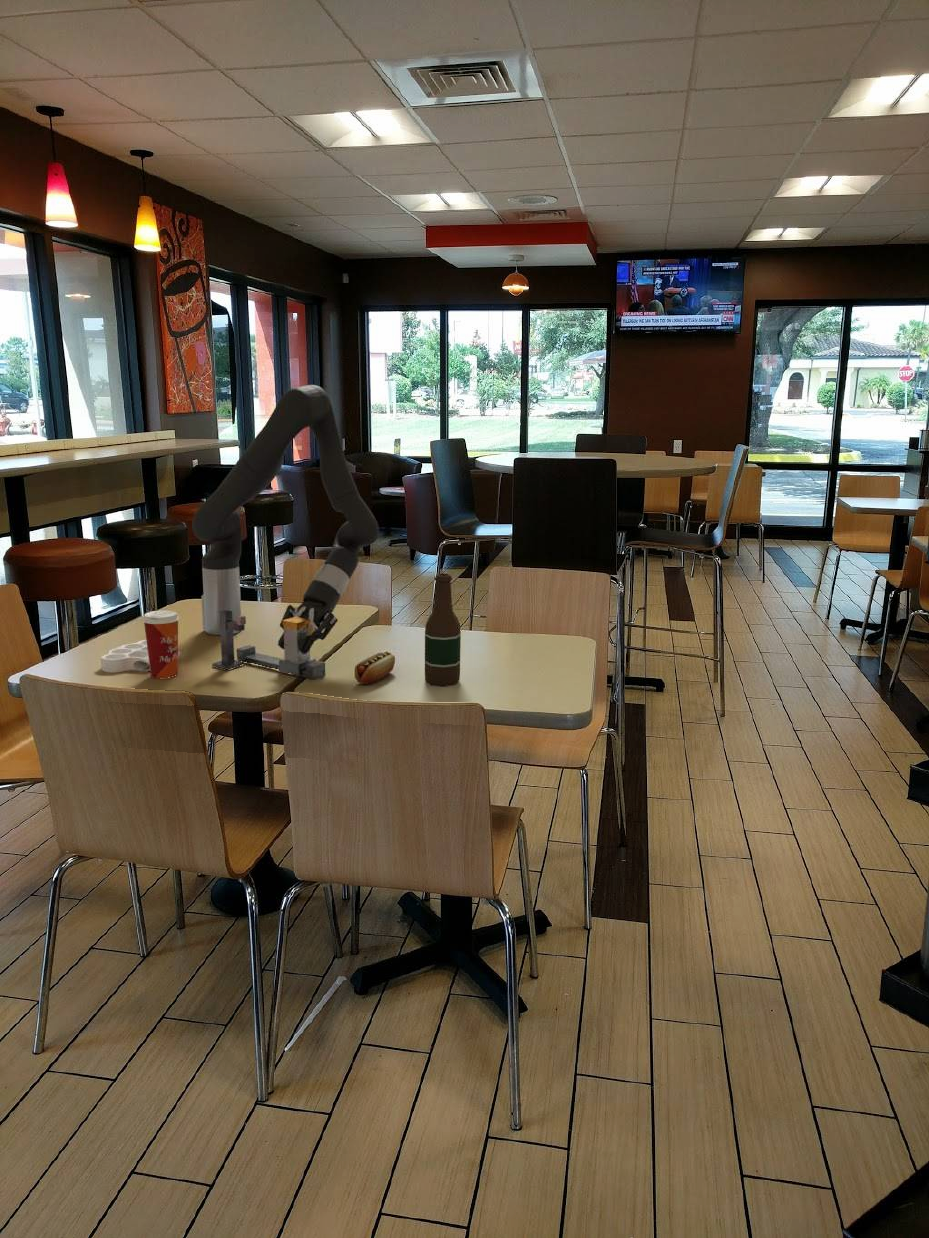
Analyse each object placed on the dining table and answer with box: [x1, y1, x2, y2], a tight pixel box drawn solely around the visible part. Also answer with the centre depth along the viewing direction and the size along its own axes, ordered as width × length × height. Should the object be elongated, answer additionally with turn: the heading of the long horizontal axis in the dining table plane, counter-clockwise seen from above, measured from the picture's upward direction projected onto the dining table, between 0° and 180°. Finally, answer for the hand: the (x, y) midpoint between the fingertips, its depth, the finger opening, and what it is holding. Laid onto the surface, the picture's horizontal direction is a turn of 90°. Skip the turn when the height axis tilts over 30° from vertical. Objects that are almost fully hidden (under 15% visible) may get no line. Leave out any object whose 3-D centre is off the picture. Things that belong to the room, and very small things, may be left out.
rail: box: [236, 644, 326, 681], centre depth 210 cm, size 24×4×3 cm, turn 56°
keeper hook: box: [211, 610, 247, 671], centre depth 208 cm, size 8×5×13 cm, turn 56°
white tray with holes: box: [100, 639, 181, 673], centre depth 213 cm, size 3×18×15 cm
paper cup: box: [142, 610, 180, 680], centre depth 202 cm, size 8×8×14 cm
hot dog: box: [354, 651, 396, 685], centre depth 203 cm, size 5×13×5 cm, turn 156°
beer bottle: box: [424, 573, 462, 688], centre depth 199 cm, size 8×8×24 cm
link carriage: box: [278, 617, 317, 678], centre depth 205 cm, size 6×6×12 cm
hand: (291, 649), depth 204 cm, fingers open, 5 cm apart
